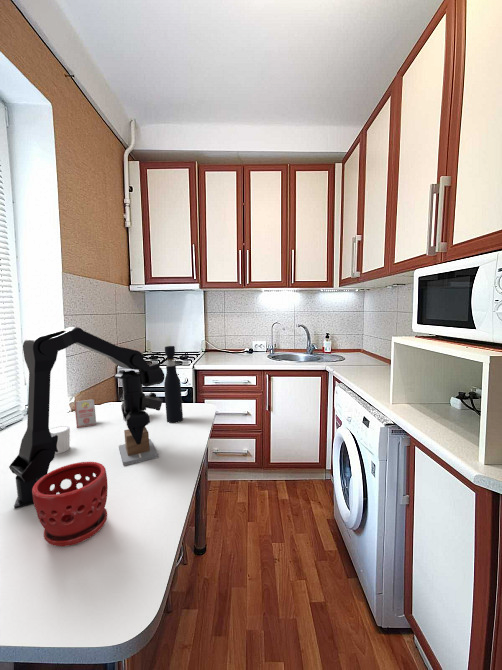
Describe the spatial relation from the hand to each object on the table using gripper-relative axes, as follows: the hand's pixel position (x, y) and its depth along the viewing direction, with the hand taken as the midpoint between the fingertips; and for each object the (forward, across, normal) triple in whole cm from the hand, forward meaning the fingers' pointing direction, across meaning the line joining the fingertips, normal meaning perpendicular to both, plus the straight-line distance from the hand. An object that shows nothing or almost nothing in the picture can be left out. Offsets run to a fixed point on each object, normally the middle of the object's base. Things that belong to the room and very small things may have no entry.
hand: (136, 438), depth 104 cm
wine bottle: (+5, +24, -18) cm, 30 cm away
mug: (+5, +36, -4) cm, 36 cm away
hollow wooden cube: (+4, 0, 0) cm, 4 cm away
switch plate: (+4, 0, 0) cm, 4 cm away
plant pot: (+5, -33, +16) cm, 37 cm away
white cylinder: (+5, +17, +22) cm, 29 cm away
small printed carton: (+5, +40, +14) cm, 43 cm away
